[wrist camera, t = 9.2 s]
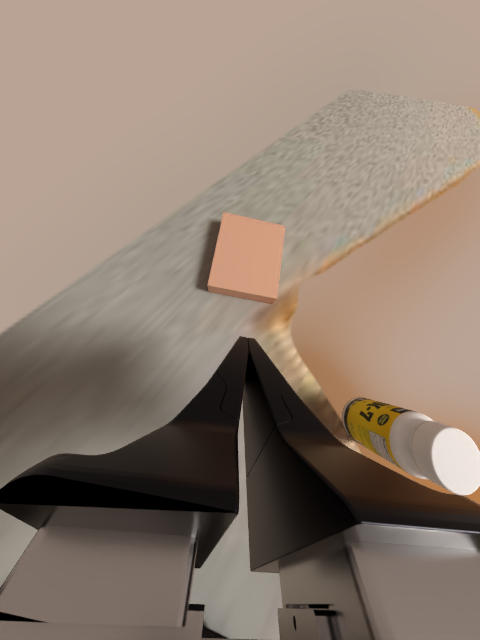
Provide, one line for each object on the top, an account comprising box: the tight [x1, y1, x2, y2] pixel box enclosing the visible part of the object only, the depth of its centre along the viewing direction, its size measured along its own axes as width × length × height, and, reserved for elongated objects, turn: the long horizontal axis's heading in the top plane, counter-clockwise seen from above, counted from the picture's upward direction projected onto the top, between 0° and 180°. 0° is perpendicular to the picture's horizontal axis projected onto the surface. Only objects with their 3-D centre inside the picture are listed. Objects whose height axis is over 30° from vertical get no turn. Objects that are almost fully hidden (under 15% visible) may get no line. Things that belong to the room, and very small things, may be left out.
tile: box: [207, 212, 285, 304], centre depth 22 cm, size 2×8×10 cm
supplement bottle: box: [342, 397, 480, 495], centre depth 16 cm, size 5×5×8 cm
